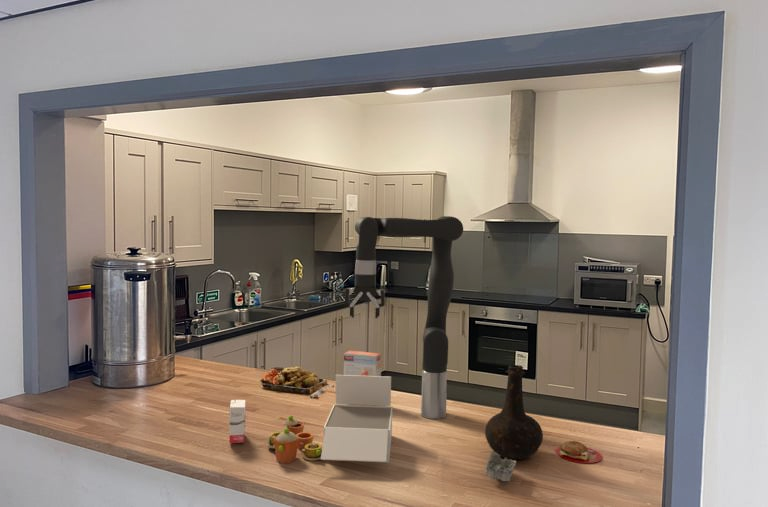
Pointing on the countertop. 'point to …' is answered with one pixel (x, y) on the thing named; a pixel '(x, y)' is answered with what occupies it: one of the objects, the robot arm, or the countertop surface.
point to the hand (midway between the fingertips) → (364, 317)
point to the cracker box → (362, 364)
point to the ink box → (237, 421)
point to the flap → (363, 389)
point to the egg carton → (500, 467)
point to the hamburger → (577, 452)
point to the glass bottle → (514, 423)
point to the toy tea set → (294, 442)
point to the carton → (358, 433)
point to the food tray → (294, 381)
